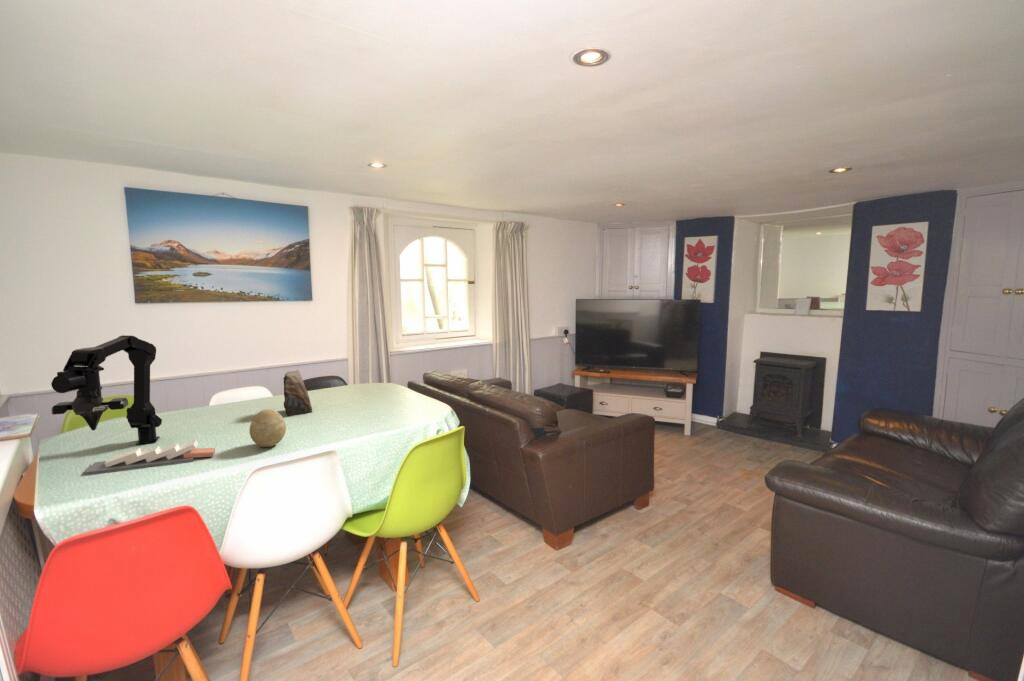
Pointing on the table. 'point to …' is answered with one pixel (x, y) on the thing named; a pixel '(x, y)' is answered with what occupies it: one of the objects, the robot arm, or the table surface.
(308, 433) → the table surface
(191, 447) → the domino
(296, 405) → the tapered brown rock
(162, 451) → the domino
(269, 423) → the fossilized egg
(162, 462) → the board
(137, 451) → the domino
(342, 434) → the table surface
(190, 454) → the brick domino
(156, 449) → the domino
